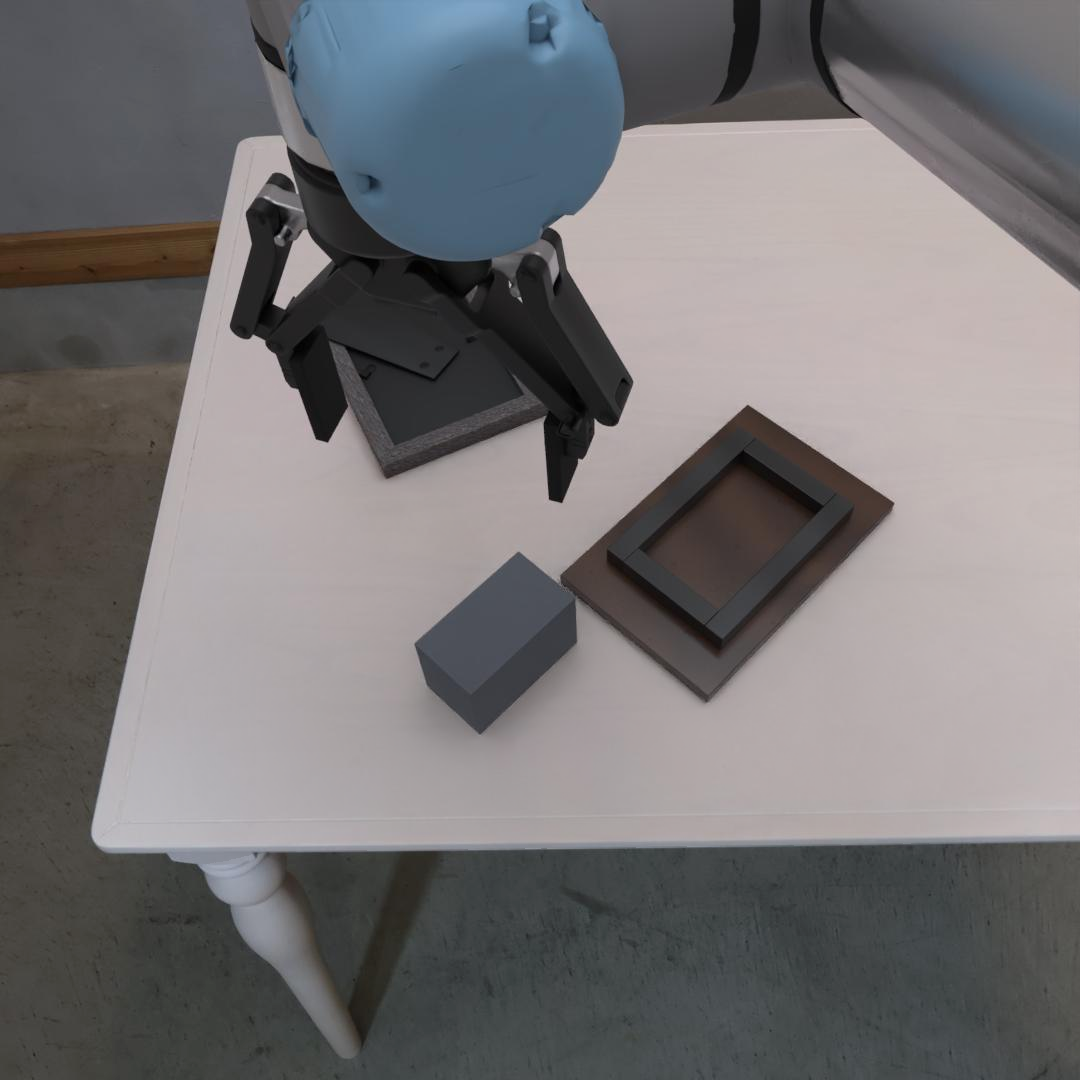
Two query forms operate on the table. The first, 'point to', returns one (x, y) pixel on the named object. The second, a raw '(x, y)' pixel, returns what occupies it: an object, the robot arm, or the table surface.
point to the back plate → (726, 549)
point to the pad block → (498, 641)
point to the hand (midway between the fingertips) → (445, 452)
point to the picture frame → (421, 383)
